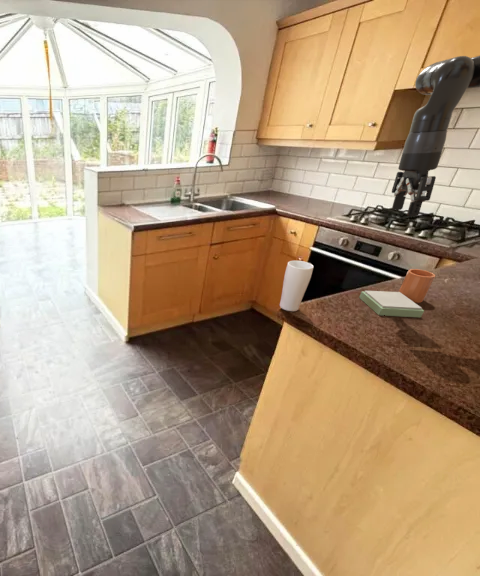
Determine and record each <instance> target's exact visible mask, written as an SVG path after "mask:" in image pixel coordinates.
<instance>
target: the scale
mask: <svg viewBox="0 0 480 576" xmlns="http://www.w3.org/2000/svg"><path fill="white" fill-rule="evenodd" d="M358 298H359V300H361V301H362V302H363V303H364V304H366V305H367V306H368V308H370V310H372V311H373V312H375V313H376V314H377V315H378V316H384V315H385V316H386V317H400V318H401V317H403V318H404V317H405V318H422V317H423V314H424V312H425V310H424V309H423V308H422V306H421V305H418V303H415V302H413V301H412V300H410V299H409V298H407V297H406V296H405V295H403V294H402V293H400V292H399V291H384V290H364V291H360V294H359V297H358Z"/></svg>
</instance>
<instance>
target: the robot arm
mask: <svg viewBox="0 0 480 576" xmlns="http://www.w3.org/2000/svg"><path fill="white" fill-rule="evenodd" d="M414 84H415V85H414V86H415V90H416V91H417V92H418V93H419V94H421V95H426V96H430V97H429V99H428V101H427V103H426V104H425V105H424V106H420V108H418V109H416V110H415V112H414V114H413V117H412V121H411V124H410V128H409V132H408V135H407V137H406V140H405V142H404V146H403V150H402V152H401V157H400V160H399V164H398V170H399V171H397V172H396V175H395V179H394V182H393V185H392V189H391V193H392V194H393V196H394V199H393V202H392V207H391V209H392V210H393V211H401V210H403V208H404V204H405V201H406V198H407V195H408V196H410V204H409V206H408V209H407V213H406V216H407V217H417V216H419V215H420V211H421V208H422V205H423V203H424V202H427V201H430V200H431V197H432V193H433V190H434V186H435V182H436V180H437V179H436V178H437V177H436V176H435V175H432V176H431V175H430V176H429V172H430V171H432V170H436V169H438V166H439V164H440V159H441V158H442V157H441V156H442V153H443V150H444V147H445V145H446V140H447V134H448V129H449V126H450V123H451V120H452V116H453V113H454V111H455V109H456V108H457V106H458V105H459V103H460V101H461V100H462V98H463V97H464V95H465V93H466V91H467V89H473V88H474V89H475V88H480V55H477V56H473V57H470V56H467V55H459V56H455V57H454V56H453V57H451V58H448V59H447V58H446V59H444V60H440V61H436V62H433V63H431V64H430V65H428V66H426V67H425V68H424V69H422V70H421V72H420V73H419V74H418V75H417V76H416V79H415V82H414Z"/></svg>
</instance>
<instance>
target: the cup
mask: <svg viewBox="0 0 480 576" xmlns="http://www.w3.org/2000/svg"><path fill="white" fill-rule="evenodd" d="M435 278H436V274H435V273H433V272H431V271H429V270H425V269H419V268H409V269H408V271H407V272H406V275H405V277H404V278H403V280H402V284H401V286H400V288H399V290H398V292H400V293H402V294H403V295H405V296H406V297H407V298H409V299H410V300H412V301H413V302H414V303H416V304H419V303H422V302H423V301H424V300H425V298H426V296H427V294H428V291H429V290H430V288H431V286H432V284H433V282H434V280H435Z"/></svg>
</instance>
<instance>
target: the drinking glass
mask: <svg viewBox="0 0 480 576" xmlns="http://www.w3.org/2000/svg"><path fill="white" fill-rule="evenodd" d="M313 271H314V265H313V264H312V263H311V262H307V261H304V260H289V261H287V265H286V267H285V272H284V277H283V282H282V290H281V296H280V302H279V307H280V309H282V310H284V311H286V312H297V311H298V310H299V309H300V305H301V303H302V300H303V298H304V296H305V293H306V291H307V288H308V286H309V284H310V281H311V279H312V275H313Z"/></svg>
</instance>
